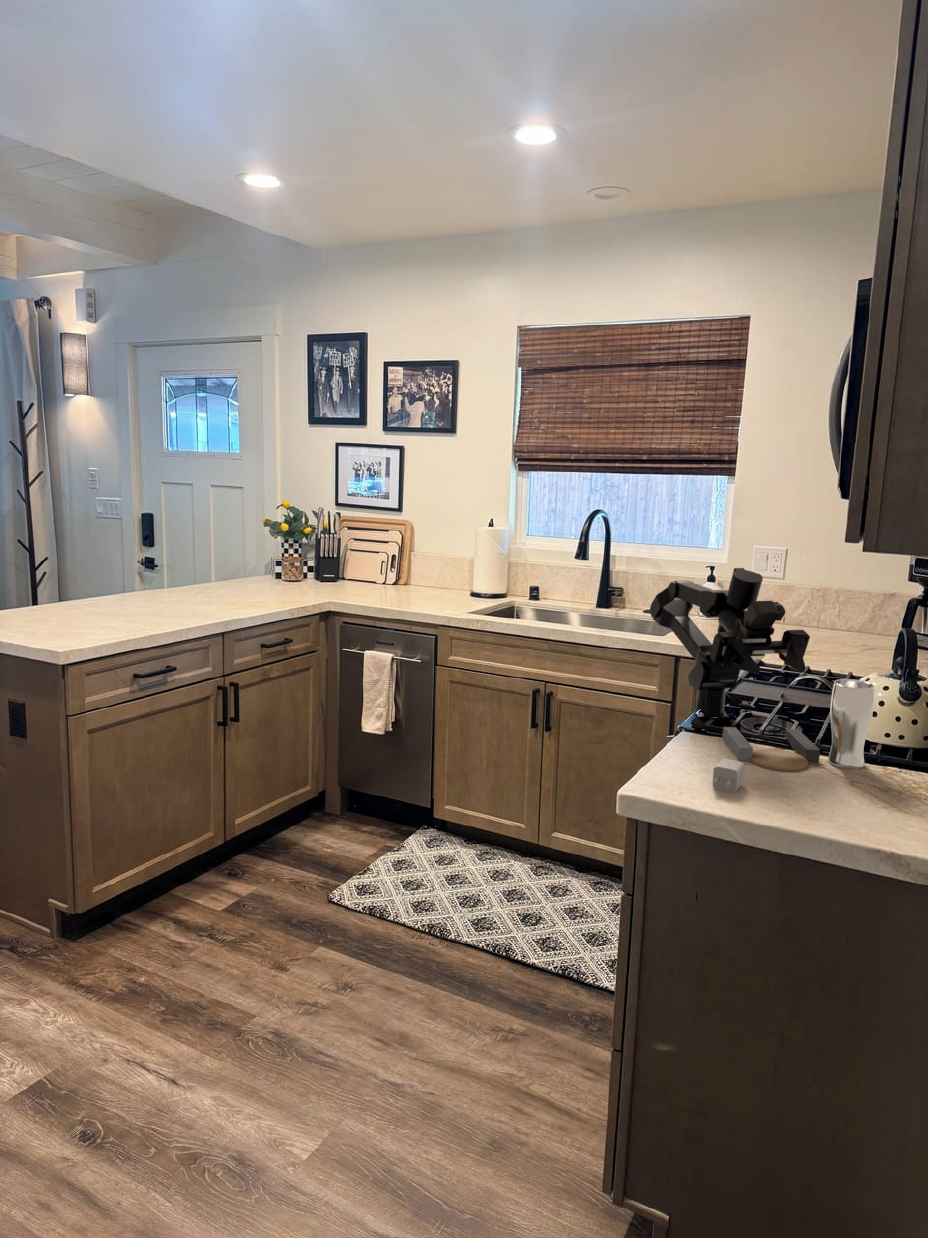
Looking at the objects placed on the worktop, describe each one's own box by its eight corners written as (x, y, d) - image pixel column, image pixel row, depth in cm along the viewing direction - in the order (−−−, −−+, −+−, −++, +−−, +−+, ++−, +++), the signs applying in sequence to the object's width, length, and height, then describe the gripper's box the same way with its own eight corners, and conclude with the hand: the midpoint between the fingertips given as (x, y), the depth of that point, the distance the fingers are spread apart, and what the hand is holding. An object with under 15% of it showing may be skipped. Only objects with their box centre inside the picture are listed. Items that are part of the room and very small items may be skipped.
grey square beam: (722, 738, 164) (723, 727, 164) (734, 739, 164) (735, 727, 164) (738, 760, 152) (739, 747, 152) (751, 760, 152) (752, 748, 152)
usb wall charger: (743, 785, 141) (744, 762, 140) (732, 798, 135) (734, 775, 134) (719, 780, 143) (721, 758, 142) (707, 793, 137) (709, 770, 136)
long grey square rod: (784, 740, 164) (785, 728, 163) (796, 740, 163) (797, 729, 163) (805, 762, 152) (806, 749, 151) (818, 762, 152) (820, 750, 151)
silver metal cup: (858, 757, 154) (867, 679, 152) (873, 771, 148) (882, 689, 145) (819, 755, 155) (827, 677, 152) (832, 769, 148) (840, 688, 145)
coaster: (743, 751, 157) (743, 748, 157) (797, 752, 157) (797, 749, 157) (758, 770, 147) (759, 767, 147) (816, 772, 147) (816, 769, 147)
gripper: (707, 592, 160) (745, 634, 147) (795, 591, 163) (840, 632, 150) (695, 642, 165) (730, 687, 152) (780, 639, 169) (822, 683, 156)
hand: (781, 671), depth 152 cm, fingers open, 9 cm apart
